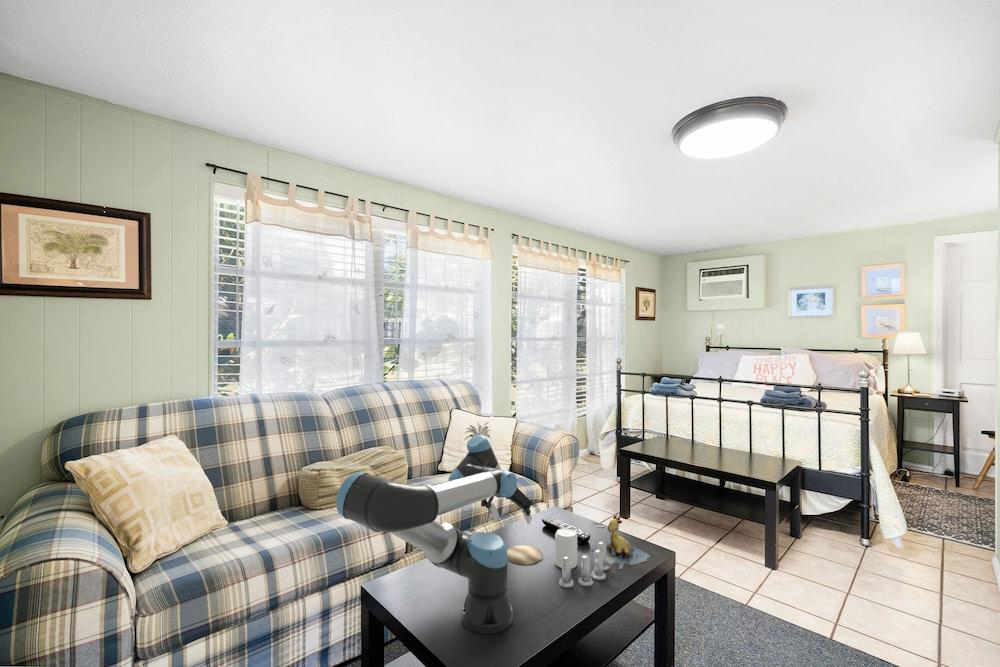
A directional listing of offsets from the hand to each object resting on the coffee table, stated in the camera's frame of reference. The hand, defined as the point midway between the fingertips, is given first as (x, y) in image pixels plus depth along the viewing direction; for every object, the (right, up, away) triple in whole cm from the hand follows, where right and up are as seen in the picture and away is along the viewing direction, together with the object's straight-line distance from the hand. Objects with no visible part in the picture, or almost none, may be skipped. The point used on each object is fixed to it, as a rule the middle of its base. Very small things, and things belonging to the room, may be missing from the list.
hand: (513, 520), depth 163 cm
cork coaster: (+4, -17, +8) cm, 19 cm away
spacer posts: (+26, -17, -6) cm, 32 cm away
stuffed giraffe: (+42, -18, +10) cm, 47 cm away
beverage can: (+19, -17, +2) cm, 26 cm away
